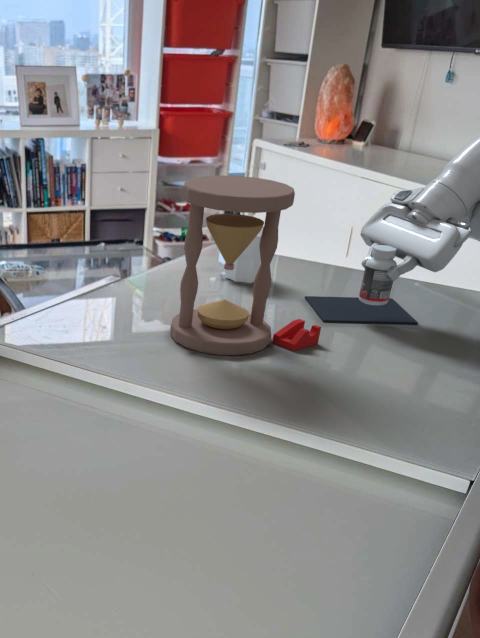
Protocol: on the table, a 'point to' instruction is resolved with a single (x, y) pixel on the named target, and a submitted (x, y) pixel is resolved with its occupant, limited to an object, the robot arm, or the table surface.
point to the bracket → (297, 335)
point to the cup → (246, 263)
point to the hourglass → (229, 261)
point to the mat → (358, 311)
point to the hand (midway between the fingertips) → (376, 272)
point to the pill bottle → (378, 276)
